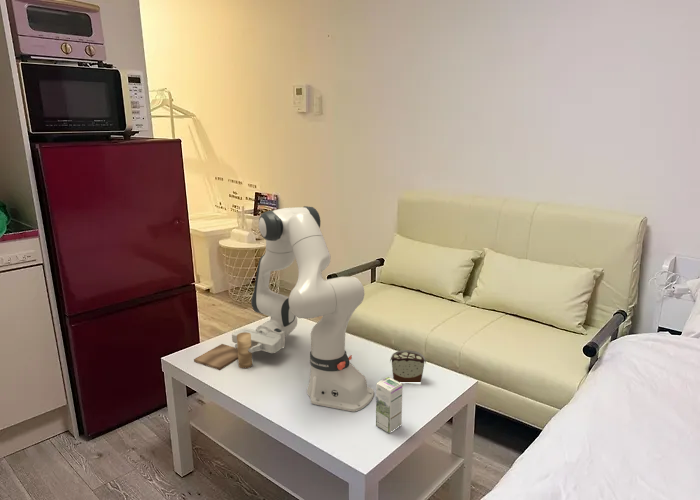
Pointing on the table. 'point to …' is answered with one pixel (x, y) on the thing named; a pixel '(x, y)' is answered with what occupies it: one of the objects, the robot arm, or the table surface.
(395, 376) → the muffin
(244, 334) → the oak roller
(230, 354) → the board
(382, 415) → the syrup box
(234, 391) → the table surface
